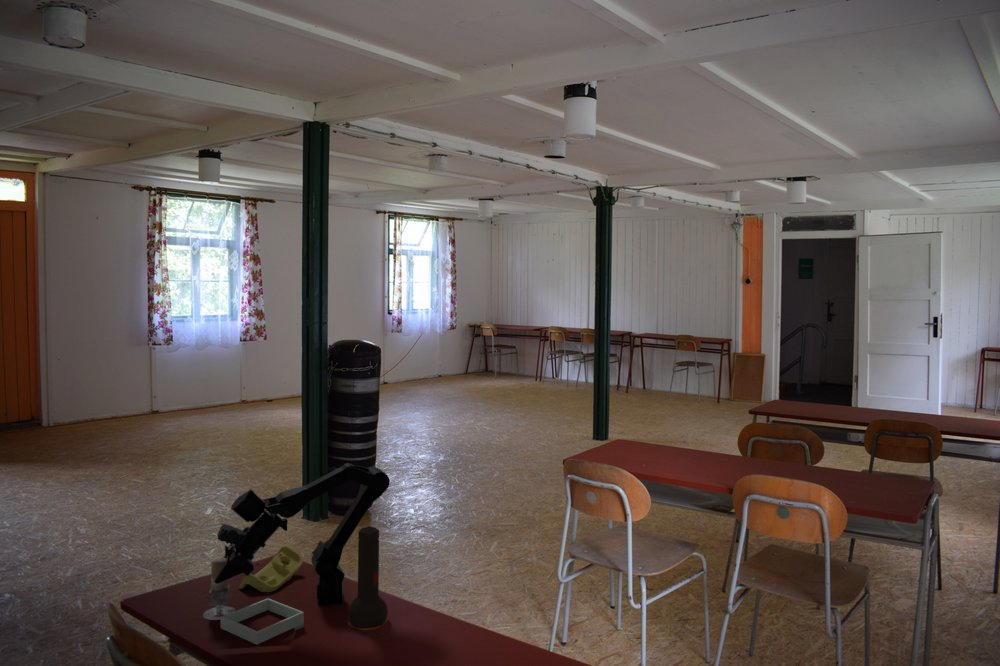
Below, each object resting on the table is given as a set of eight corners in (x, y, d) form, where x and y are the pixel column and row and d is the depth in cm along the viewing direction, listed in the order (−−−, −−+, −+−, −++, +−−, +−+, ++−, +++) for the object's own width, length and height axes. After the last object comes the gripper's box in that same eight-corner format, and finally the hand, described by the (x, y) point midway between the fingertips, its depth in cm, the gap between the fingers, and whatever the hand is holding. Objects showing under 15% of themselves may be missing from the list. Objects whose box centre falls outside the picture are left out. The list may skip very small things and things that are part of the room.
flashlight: (340, 622, 186) (368, 633, 181) (341, 527, 185) (369, 535, 180) (367, 609, 195) (394, 618, 189) (368, 518, 193) (396, 524, 188)
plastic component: (273, 589, 201) (244, 570, 203) (264, 610, 203) (235, 592, 204) (308, 559, 220) (281, 542, 222) (299, 578, 222) (272, 562, 223)
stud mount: (238, 609, 193) (238, 594, 193) (232, 622, 185) (232, 607, 185) (206, 610, 192) (206, 596, 191) (199, 624, 184) (199, 609, 183)
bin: (267, 612, 192) (268, 598, 191) (303, 626, 184) (303, 612, 183) (220, 631, 180) (220, 617, 180) (256, 648, 172) (256, 632, 172)
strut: (230, 597, 191) (229, 557, 190) (226, 604, 186) (226, 563, 186) (212, 598, 190) (212, 557, 189) (208, 606, 186) (208, 564, 185)
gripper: (233, 504, 197) (190, 549, 193) (239, 524, 180) (192, 573, 176) (264, 529, 201) (221, 573, 197) (272, 551, 184) (226, 600, 180)
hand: (215, 579), depth 187 cm, fingers closed on strut, 4 cm apart
